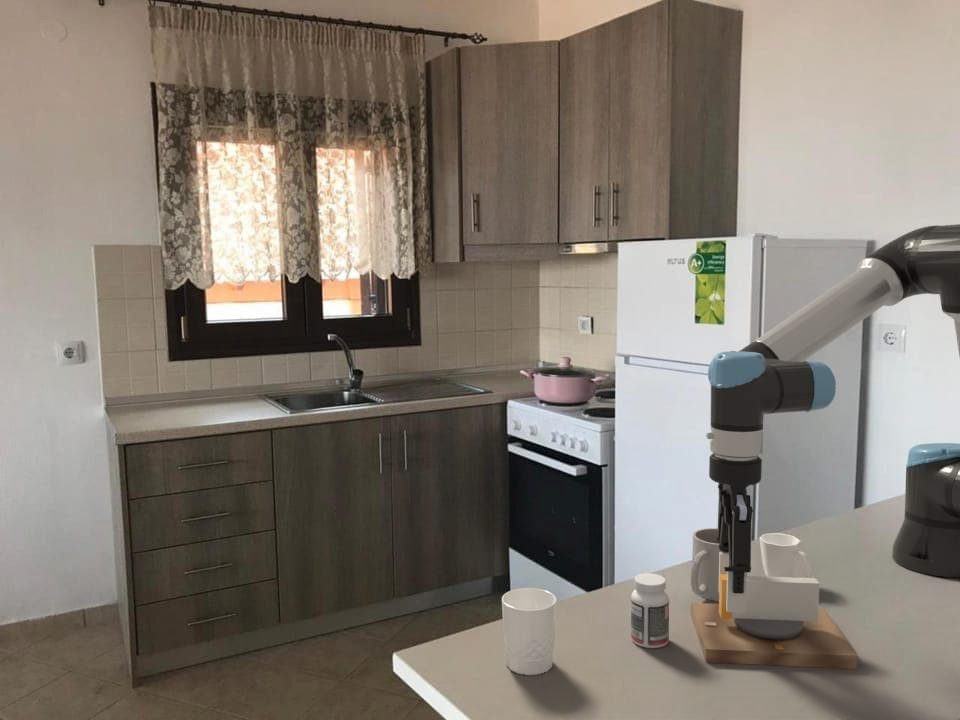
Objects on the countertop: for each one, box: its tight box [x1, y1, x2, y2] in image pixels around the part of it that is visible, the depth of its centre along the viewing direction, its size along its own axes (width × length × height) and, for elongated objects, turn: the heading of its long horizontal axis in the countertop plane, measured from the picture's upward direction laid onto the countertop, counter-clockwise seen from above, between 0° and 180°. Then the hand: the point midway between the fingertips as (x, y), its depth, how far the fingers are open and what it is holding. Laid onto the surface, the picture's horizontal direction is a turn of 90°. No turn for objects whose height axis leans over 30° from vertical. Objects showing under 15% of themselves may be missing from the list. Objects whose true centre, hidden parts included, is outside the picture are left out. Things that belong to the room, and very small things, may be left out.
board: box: [690, 602, 858, 670], centre depth 123 cm, size 21×16×2 cm
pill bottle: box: [630, 572, 670, 649], centre depth 123 cm, size 6×6×10 cm
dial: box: [718, 574, 820, 639], centre depth 123 cm, size 14×10×7 cm
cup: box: [758, 532, 812, 578], centre depth 144 cm, size 7×10×8 cm
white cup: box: [501, 587, 557, 676], centre depth 117 cm, size 8×8×10 cm
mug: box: [690, 527, 722, 602], centre depth 140 cm, size 12×9×10 cm
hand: (731, 601), depth 124 cm, fingers open, 6 cm apart
